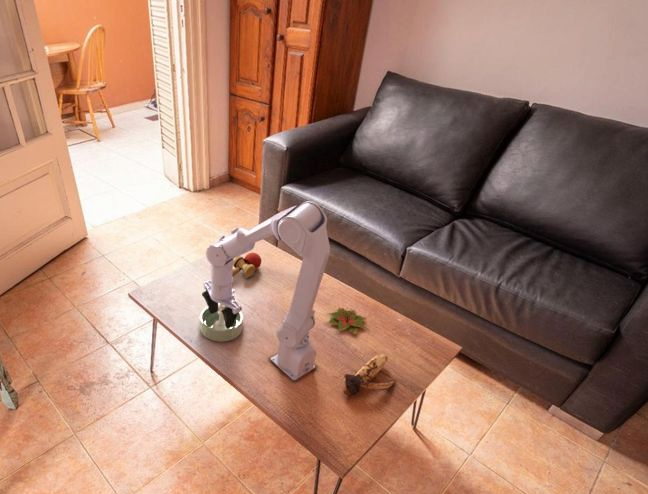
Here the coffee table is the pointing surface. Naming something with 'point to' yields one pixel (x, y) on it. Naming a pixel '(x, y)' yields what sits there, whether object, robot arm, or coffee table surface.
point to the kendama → (246, 264)
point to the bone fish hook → (366, 377)
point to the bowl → (219, 335)
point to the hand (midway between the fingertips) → (221, 319)
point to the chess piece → (220, 320)
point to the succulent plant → (347, 320)
